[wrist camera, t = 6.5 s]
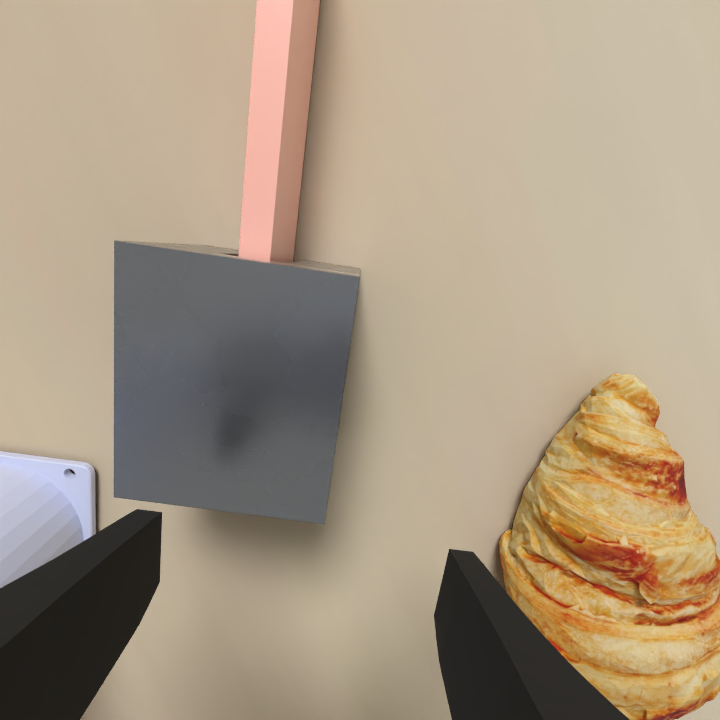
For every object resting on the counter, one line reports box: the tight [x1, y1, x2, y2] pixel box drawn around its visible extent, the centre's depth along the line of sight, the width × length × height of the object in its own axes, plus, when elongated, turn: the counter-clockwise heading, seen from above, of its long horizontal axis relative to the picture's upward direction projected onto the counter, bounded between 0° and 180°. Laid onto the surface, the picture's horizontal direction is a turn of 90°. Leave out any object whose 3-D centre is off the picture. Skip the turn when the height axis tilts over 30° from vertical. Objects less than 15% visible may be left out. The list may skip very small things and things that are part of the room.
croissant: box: [499, 373, 720, 720], centre depth 20 cm, size 21×10×8 cm, turn 5°
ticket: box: [239, 0, 320, 263], centre depth 14 cm, size 1×13×5 cm, turn 172°
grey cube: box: [114, 241, 360, 524], centre depth 16 cm, size 7×8×7 cm
